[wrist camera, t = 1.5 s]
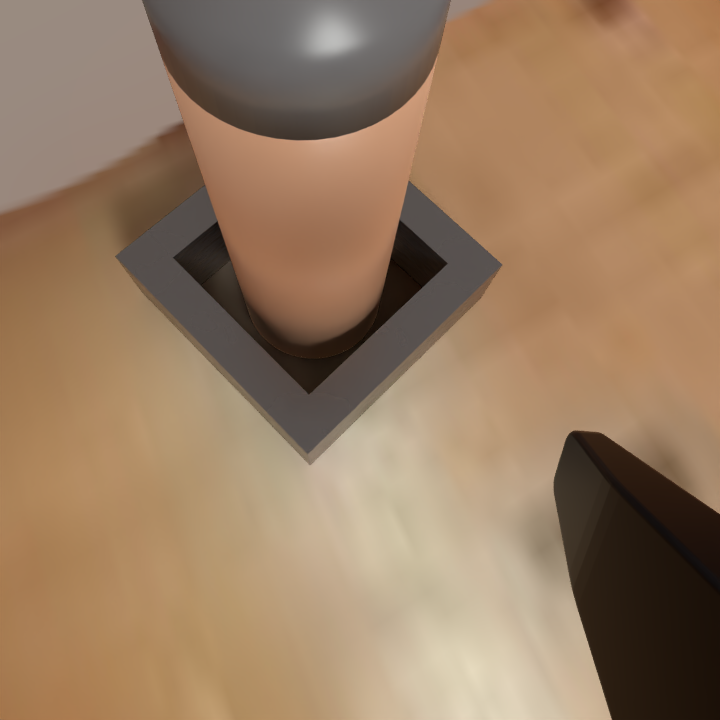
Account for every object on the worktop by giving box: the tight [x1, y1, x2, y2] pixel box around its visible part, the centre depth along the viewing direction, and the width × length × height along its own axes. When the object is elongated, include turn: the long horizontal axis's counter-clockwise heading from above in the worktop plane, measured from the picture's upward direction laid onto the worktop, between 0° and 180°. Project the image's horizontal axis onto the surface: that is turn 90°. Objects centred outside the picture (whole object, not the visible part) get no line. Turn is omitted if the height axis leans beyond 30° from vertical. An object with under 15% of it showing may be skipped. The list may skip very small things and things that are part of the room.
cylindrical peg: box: [142, 0, 451, 359], centre depth 16 cm, size 5×5×15 cm
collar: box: [115, 181, 502, 465], centre depth 22 cm, size 9×9×3 cm
